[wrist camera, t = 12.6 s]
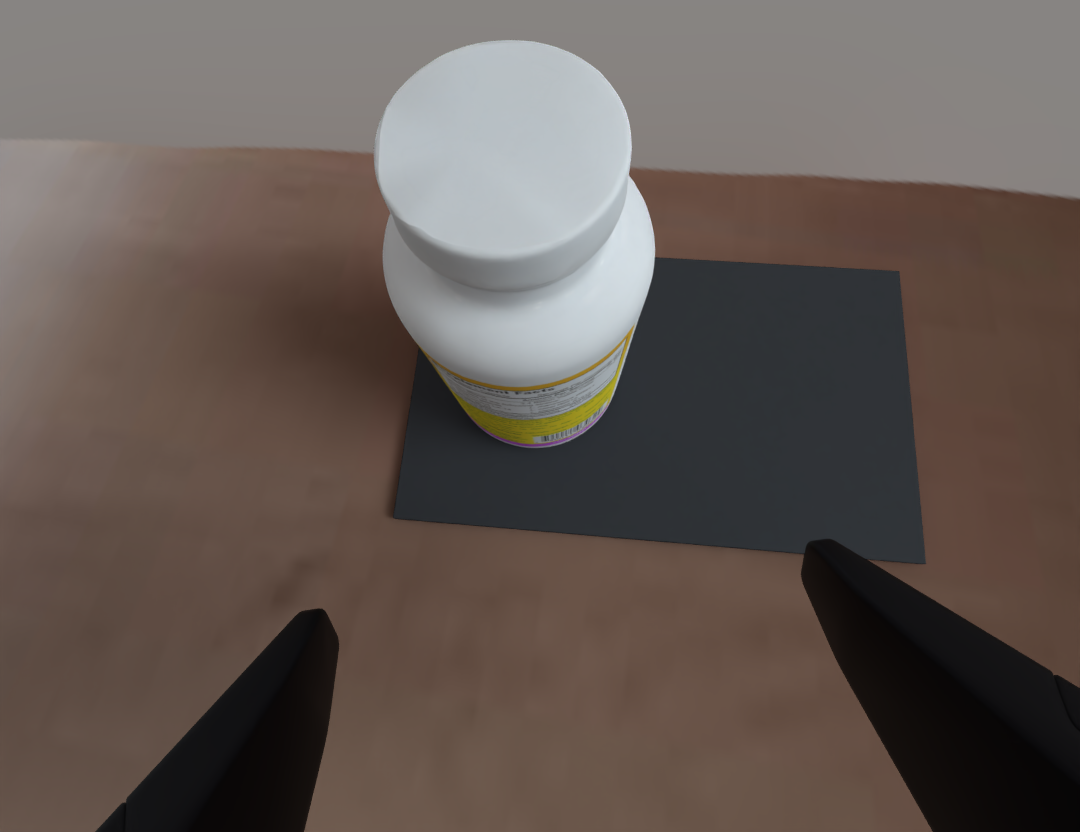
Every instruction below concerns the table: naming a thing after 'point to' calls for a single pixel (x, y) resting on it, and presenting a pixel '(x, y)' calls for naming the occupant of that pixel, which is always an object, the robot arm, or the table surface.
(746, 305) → the desk mat
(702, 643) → the table surface
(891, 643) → the robot arm
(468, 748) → the table surface
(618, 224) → the supplement bottle
